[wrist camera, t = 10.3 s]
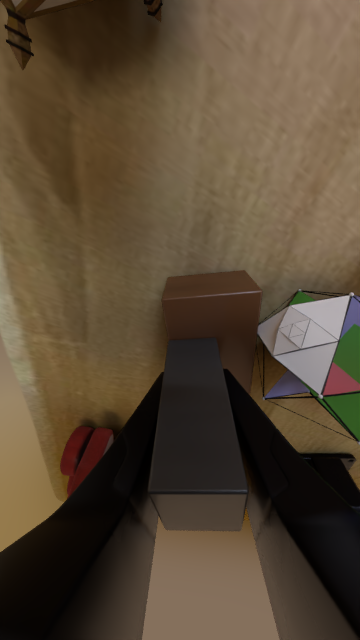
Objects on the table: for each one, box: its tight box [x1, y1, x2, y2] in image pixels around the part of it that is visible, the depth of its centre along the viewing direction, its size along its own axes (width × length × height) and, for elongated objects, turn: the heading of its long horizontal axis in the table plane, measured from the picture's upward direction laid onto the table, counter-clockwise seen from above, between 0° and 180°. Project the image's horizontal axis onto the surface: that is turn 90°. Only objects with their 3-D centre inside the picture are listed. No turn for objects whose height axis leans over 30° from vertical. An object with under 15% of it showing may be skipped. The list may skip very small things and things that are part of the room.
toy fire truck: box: [60, 426, 114, 499], centre depth 17 cm, size 7×12×10 cm, turn 171°
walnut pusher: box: [148, 270, 262, 531], centre depth 9 cm, size 8×4×9 cm, turn 6°
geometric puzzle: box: [256, 289, 360, 445], centre depth 10 cm, size 7×7×8 cm
